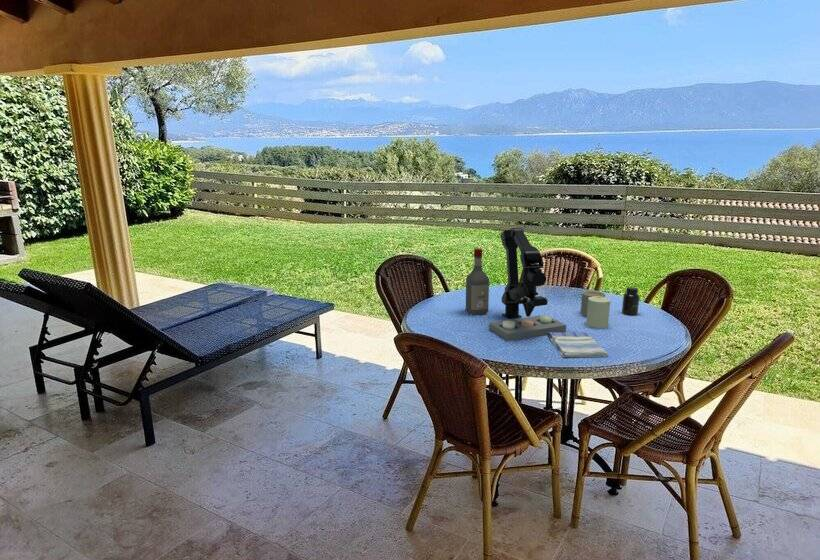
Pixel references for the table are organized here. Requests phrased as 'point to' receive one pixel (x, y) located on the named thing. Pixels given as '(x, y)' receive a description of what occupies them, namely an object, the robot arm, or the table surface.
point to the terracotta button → (527, 323)
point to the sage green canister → (598, 312)
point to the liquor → (477, 287)
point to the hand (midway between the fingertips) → (527, 316)
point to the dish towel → (576, 344)
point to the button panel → (526, 328)
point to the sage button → (545, 319)
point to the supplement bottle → (630, 301)
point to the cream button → (508, 325)
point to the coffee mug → (585, 300)
